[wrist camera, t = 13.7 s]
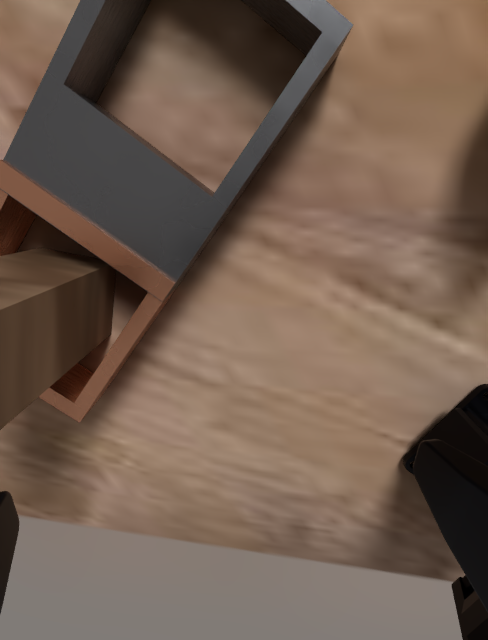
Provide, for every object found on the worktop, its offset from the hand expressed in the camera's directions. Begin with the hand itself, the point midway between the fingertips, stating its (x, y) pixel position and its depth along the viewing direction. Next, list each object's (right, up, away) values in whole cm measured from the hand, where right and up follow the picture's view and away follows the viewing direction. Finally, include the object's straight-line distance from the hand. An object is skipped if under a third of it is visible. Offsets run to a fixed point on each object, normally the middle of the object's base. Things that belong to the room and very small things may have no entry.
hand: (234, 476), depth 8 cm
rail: (-5, +9, +10) cm, 15 cm away
